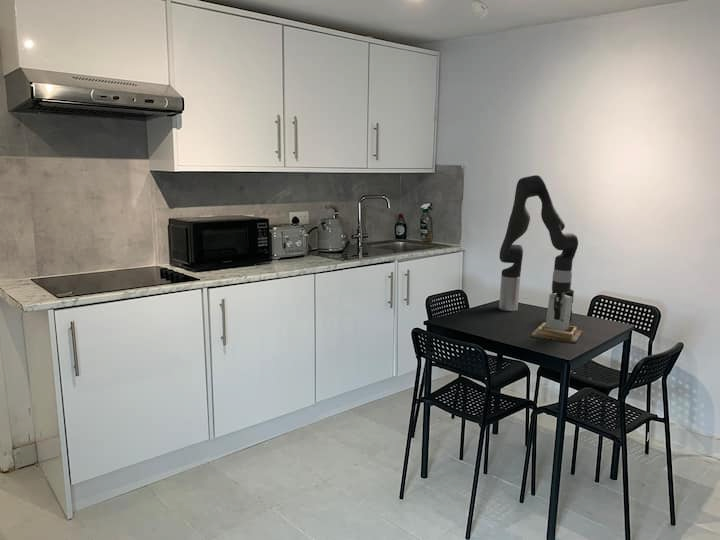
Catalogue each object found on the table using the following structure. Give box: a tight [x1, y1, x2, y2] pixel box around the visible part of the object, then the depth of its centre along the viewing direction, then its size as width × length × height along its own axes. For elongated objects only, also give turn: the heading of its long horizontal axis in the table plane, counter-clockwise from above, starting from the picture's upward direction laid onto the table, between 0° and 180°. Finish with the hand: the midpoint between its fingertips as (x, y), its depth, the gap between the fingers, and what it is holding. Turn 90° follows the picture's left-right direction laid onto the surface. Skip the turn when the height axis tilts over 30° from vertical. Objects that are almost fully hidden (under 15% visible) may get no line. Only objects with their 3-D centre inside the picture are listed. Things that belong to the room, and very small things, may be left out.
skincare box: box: [545, 293, 574, 331], centre depth 239 cm, size 8×6×15 cm
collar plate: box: [530, 321, 583, 344], centre depth 240 cm, size 18×18×3 cm
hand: (558, 317), depth 239 cm, fingers closed on skincare box, 6 cm apart
